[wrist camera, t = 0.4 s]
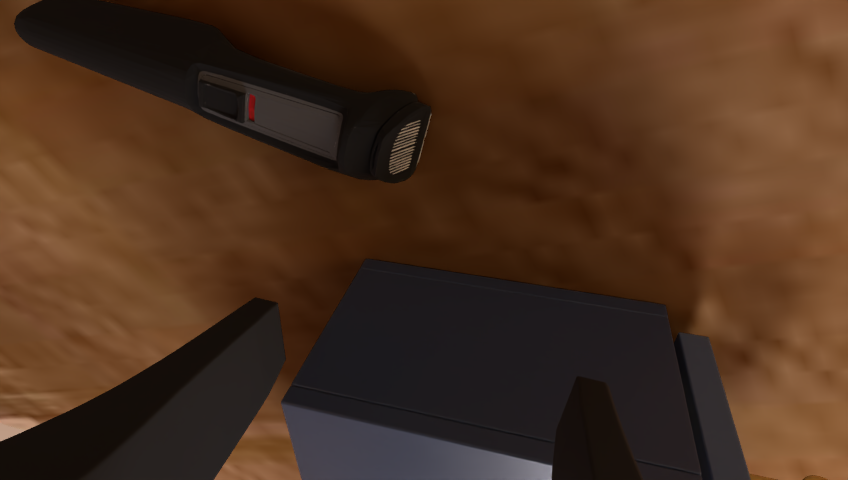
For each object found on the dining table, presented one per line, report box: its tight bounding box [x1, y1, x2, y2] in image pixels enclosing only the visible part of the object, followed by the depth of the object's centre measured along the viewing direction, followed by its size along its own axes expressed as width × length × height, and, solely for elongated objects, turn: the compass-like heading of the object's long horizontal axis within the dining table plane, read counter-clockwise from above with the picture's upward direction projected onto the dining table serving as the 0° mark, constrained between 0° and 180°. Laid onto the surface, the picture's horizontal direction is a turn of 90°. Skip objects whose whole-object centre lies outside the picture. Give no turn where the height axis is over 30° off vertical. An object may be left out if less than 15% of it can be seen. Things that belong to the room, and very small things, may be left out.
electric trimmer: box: [14, 0, 432, 183], centre depth 19 cm, size 4×16×3 cm, turn 75°
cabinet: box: [281, 259, 702, 480], centre depth 23 cm, size 14×14×9 cm
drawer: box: [674, 332, 828, 480], centre depth 22 cm, size 17×12×7 cm
